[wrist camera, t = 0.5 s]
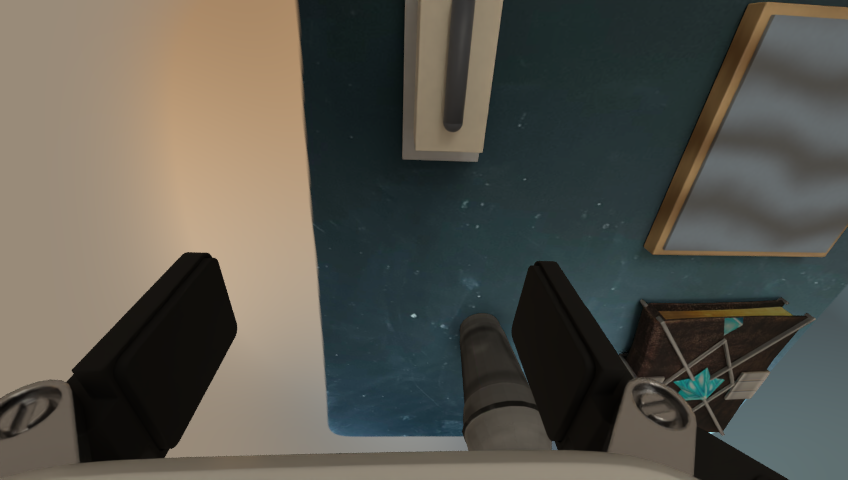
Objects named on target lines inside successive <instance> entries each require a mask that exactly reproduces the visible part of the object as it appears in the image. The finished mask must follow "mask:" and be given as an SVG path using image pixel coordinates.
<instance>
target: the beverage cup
mask: <svg viewBox="0 0 848 480" xmlns="http://www.w3.org/2000/svg"><path fill="white" fill-rule="evenodd" d="M460 350H461V363H462V377H463V390H464V403H465V406H464V414H463V424H464V426H463V430H462V432H463V436H464V439H465V442H466V443H467V447H468V450H469V451H495V450H551V449H552V441H551V440H550V439H549V438H548V436H547V434H546V431H545V428H544V425H543V422H542V420H541V417H540V414H539V411H538V408H537V405H536V403H535V400H534V397H533V394H532V391H531V389H530V386H529V384H528V382H527V380H526V378H525V376H524V374H523V371H522V369H521V367H520V365H519V363H518V361H517V358H516V356H515V354H514V352H513V350H512V348H511V346H510V343H509V341H508V339H507V337H506V335H505V333H504V331H503V329H502V328H501V326H500V324H499V322H498V320H497V319H496V318H495V317H494V316H492V315H490V314H486V313H479V314H474V315H472V316H469V317H468V318H466V319H465V320H464V321H463V322H462V324H461V326H460Z"/></svg>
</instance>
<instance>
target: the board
mask: <svg viewBox="0 0 848 480" xmlns="http://www.w3.org/2000/svg"><path fill="white" fill-rule="evenodd" d="M847 227H848V7H835V6H820V5H806V4H791V3H777V2H761V3H751V4H748V6H747V8H746V11H745V13H744V15H743V18H742V20H741V22H740V25H739V27H738V29H737V32H736V34H735V36H734V39H733V41H732V43H731V45H730V48H729V50H728V52H727V55H726V57H725V59H724V62H723V64H722V66H721V69H720V71H719V73H718V76H717V78H716V80H715V82H714V85H713V87H712V89H711V92H710V94H709V96H708V99H707V101H706V103H705V106H704V108H703V110H702V113H701V115H700V117H699V119H698V122H697V124H696V126H695V129H694V131H693V133H692V136H691V138H690V140H689V143H688V145H687V147H686V150H685V152H684V154H683V156H682V159H681V161H680V163H679V166H678V168H677V170H676V173H675V175H674V177H673V180H672V182H671V184H670V187H669V189H668V191H667V193H666V196H665V198H664V200H663V203H662V205H661V207H660V210H659V212H658V214H657V217H656V219H655V221H654V223H653V226H652V228H651V230H650V233H649V235H648V237H647V240H646V242H645V244H644V248H646V249H647V250H648V251H649V252H650V253H651V254H653V255H722V256H794V257H825V256H826V254H827V253H828V252H829V250H830V249H831V248H832V246H833V245H834V244H835V242H836V241H837V240H838V238H839V237H840V236H841V234H842V233H843V232H844V230H845V229H846V228H847Z"/></svg>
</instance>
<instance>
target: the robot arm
mask: <svg viewBox="0 0 848 480" xmlns="http://www.w3.org/2000/svg"><path fill="white" fill-rule="evenodd" d="M236 333H237V323H236V320H235V316H234V313H233V310H232V306H231V303H230V300H229V296H228V293H227V290H226V286H225V283H224V280H223V276H222V273H221V270H220V266H219V263H218V260H217V259H215V258H212V256H211V255H210V254H209V253H192V252H190V253H189V252H187V253H184V254H183V255H182V256H181V257H180V258H179V259H178V260H177V261H176V262H175V263H174V264H173V265H172V266H171V267H170V268H169V269H168V270H167V271H166V272H165V273H164V274H163V275H162V277H161V278H160V279H159V280H158V281H157V282H156V283H155V284H154V285H153V286H152V287H151V288H150V289H149V290H148V291H147V292H146V293H145V294H144V295H143V296H142V297H141V298H140V299H139V301H138V302H137V303H136V304H135V305H134V306H133V307H132V308H131V309H130V310H129V311H128V312H127V313H126V314H125V315H124V316H123V317H122V318H121V319H120V320H119V321H118V322H117V323H116V324H115V326H114V327H113V328H112V329H111V330H110V331H109V332H108V333H107V334H106V335H105V336H104V337H103V338H102V339H101V340H100V341H99V342H98V343H97V344H96V345H95V346H94V347H93V349H91V351H90V352H89V353H88V354H87V355H86V356H85V357H84V358H83V359H82V360H81V361H80V362H79V363H78V364H77V365H76V366H75V367H74V368H73V369H72V372H73V373H74V374H73V376H72V377H71V378H70V379H69V380H68V381H67V382H64V381H62V380H47V381H40V382H36V383H33V384H30V385H27V386H24V387H21V388H19V389H17V390H15V391H13V392H11V393H9V394H7V395H5V396H3V397H2V398H0V480H788V479H787V478H785V477H784V476H782V475H780V474H778V473H776V472H775V471H773V470H771V469H770V468H768V467H766V466H765V465H763V464H761V463H760V462H758V461H756V460H754V459H753V458H751V457H749V456H748V455H745V454H744V453H742V452H741V451H739V450H737V449H735V448H734V447H732V446H730V445H729V444H727V443H725V442H723V441H722V440H720V439H718V438H717V437H715V436H713V435H712V434H710V433H708V432H706V431H705V430H703V429H701V428H700V427H698V426H697V423H696V417H695V414H694V412H693V410H692V408H691V406H690V405H689V404H688V403H687V402H686V400H685V399H684V398H683V397H682V396H681V395H680V394H678V393H677V392H676V391H675V390H674V389H672V388H670V387H669V386H667V385H665V384H664V383H661V382H659V381H656V380H654V379H650V378H644V377H640V378H633V376H632V375H631V373H630V372H629V370H628V369H627V367H626V366H625V364H624V363H623V361H622V360H621V358H620V357H619V355H618V354H617V352H616V350H615V349H614V347H613V346H612V344H611V343H610V341H609V340H608V338H607V337H606V335H605V334H604V332H603V331H602V329H601V328H600V326H599V325H598V323H597V322H596V320H595V319H594V317H593V316H592V314H591V313H590V311H589V310H588V308H587V307H586V306H585V305H584V303H583V302H582V300H581V298H580V297H579V295H578V294H577V292H576V291H575V289H574V288H573V286H572V285H571V283H570V282H569V280H568V279H567V277H566V276H565V274H564V273H563V271H562V270H561V268H560V267H559V265H558V264H557V263H556V262H554V261H537V262H535V264H534V266H530V267H529V268H528V272H527V275H526V279H525V282H524V286H523V289H522V293H521V296H520V300H519V304H518V307H517V311H516V314H515V318H514V321H513V325H512V338H513V341H514V344H515V346H516V349H517V352H518V355H519V358H520V361H521V363H522V366H523V369H524V372H525V375H526V377H527V380H528V383H529V386H530V389H531V391H532V394H533V397H534V400H535V403H536V405H537V408H538V411H539V414H540V417H541V420H542V422H543V425H544V428H545V431H546V434H547V436H548V438H549V439H550V440H551V441H555V443H556V446H557V449H558V450H495V451H434V452H386V453H385V452H384V453H383V452H382V453H339V454H338V453H336V454H293V455H255V456H218V457H183V458H182V457H181V458H165V456H166V454H167V452H168V450H169V449H170V448H171V449H172V448H174V447H175V446H176V445H177V444H178V442H179V441H180V439H181V437H182V435H183V433H184V431H185V430H186V428H187V426H188V424H189V422H190V420H191V418H192V417H193V415H194V413H195V411H196V409H197V407H198V405H199V403H200V402H201V400H202V398H203V396H204V394H205V392H206V390H207V389H208V386H209V385H210V383H211V381H212V379H213V377H214V375H215V374H216V371H217V370H218V368H219V366H220V364H221V362H222V361H223V358H224V357H225V355H226V353H227V351H228V349H229V347H230V345H231V344H232V342H233V340H234V338H235V336H236Z"/></svg>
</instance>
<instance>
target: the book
mask: <svg viewBox="0 0 848 480" xmlns="http://www.w3.org/2000/svg"><path fill="white" fill-rule="evenodd" d="M640 302H641V304H642V306H643V310H642V313H641V317H640V320H639V323H638V327H637V330H636V334H635V337H634V340H633V344H632V346H631V349H630V351H629V353H625V354H620V355H619V357H620V358H621V360H622V361H623V363H624V364H625V366H626V367H627V369H628V370H629V372H630V373H631V375H632V376H633V378H640V377H644V378H650V379H654V380H656V381H659V382H661V383H664V384H665V385H667V386H669V387H670V388H672V389H674V390H675V391H676V392H677V393H678V394H680V395H681V396H682V397H683V398H684V399H685V400H686V402H687V403H688V404H689V405H690V406H691V408H692V410H693V412H694V414H695V417H696V423H697V426H698V427H700V428H701V429H703V430H705V431H706V432H719V433H720V434H721V435H722V436H723V435H724V432H723V430H724V429H725V428H726V426H727V425H728V423H729V422H730V420H731V419H732V417H733V416H734V414H735V413H736V411H737V410H738V408H739V407H740V406H741V404H742V403H743V401H744V400H745V399H750V398H751V397H752V396H753V395H754V394H755V392H756V391H757V390H758V388H759V387H760V386H761V384H762V383H763V382H764V380H765V379H766V378H767V376H768V375H769V374H770V372H769V371H768V370H767V368H768V366H769V365H770V364H771V362H772V361H773V359H774V358H775V357H776V356H777V355H778V353H779V352H780V351H781V350H782V349H783V348H784V346H785V345H786V344H787V343H788V342H789V341H790V339H791V338H792V337H793V336H794V335H795V333H796V332H797V331H798V330H799V329H800V328H802V327H804V326H805V325H807V324H809V323H811V322H812V321H814V320H816V319H815V318H814V317H812V316H811V315H809V314H808V313H806V314H804V315H805V316H793V315H792V314H790V313H789V312H788V311H786V310H785V309H783V308H782V306H783V305H784V304H786V305H787V304H789V302H787V301H786V300H785V299H783V298H782V297H781V298H779V299H777V300H773V301H756V302H730V303H693V304H689V303H649V304H647V303H646V302H645V301H644V300H643V299H642V300H641V301H640Z"/></svg>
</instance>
